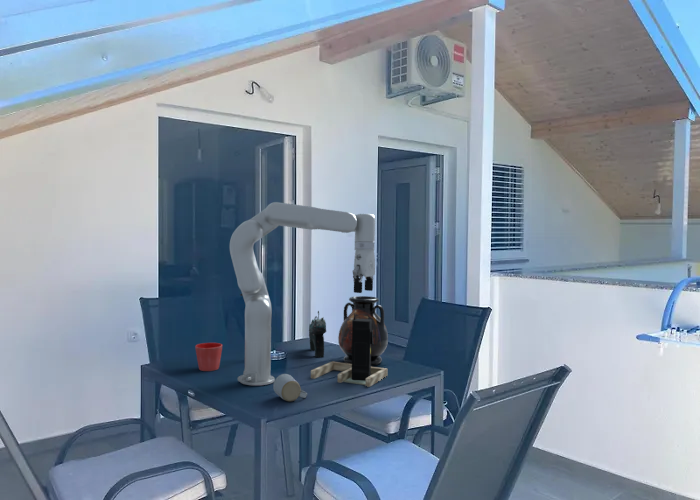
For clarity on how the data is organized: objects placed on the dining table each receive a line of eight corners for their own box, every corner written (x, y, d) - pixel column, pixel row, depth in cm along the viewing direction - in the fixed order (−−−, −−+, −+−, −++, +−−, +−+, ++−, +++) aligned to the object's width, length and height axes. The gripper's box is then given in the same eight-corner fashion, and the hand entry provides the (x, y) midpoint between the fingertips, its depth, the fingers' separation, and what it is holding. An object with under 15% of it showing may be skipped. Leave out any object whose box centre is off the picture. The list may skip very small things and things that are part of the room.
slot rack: (369, 386, 207) (369, 378, 207) (310, 378, 218) (310, 370, 218) (387, 376, 223) (387, 368, 223) (332, 368, 234) (332, 361, 234)
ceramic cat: (326, 358, 253) (327, 313, 252) (312, 358, 251) (313, 313, 251) (319, 348, 272) (319, 307, 271) (305, 349, 271) (306, 307, 270)
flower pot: (189, 370, 226) (189, 346, 226) (204, 364, 236) (204, 341, 236) (213, 373, 223) (213, 348, 222) (227, 367, 233) (227, 343, 233)
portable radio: (373, 377, 220) (374, 312, 219) (371, 381, 214) (372, 315, 213) (353, 375, 221) (354, 311, 221) (350, 379, 215) (351, 314, 215)
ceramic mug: (281, 403, 186) (282, 380, 185) (272, 397, 193) (273, 374, 193) (311, 400, 191) (311, 377, 190) (301, 393, 198) (302, 371, 198)
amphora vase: (395, 360, 251) (396, 297, 250) (374, 370, 231) (376, 302, 230) (351, 354, 260) (353, 293, 259) (328, 364, 241) (329, 298, 240)
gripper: (364, 247, 206) (362, 294, 207) (382, 246, 222) (381, 290, 222) (345, 246, 209) (344, 292, 210) (364, 245, 225) (363, 289, 226)
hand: (363, 291), depth 216 cm, fingers open, 9 cm apart
